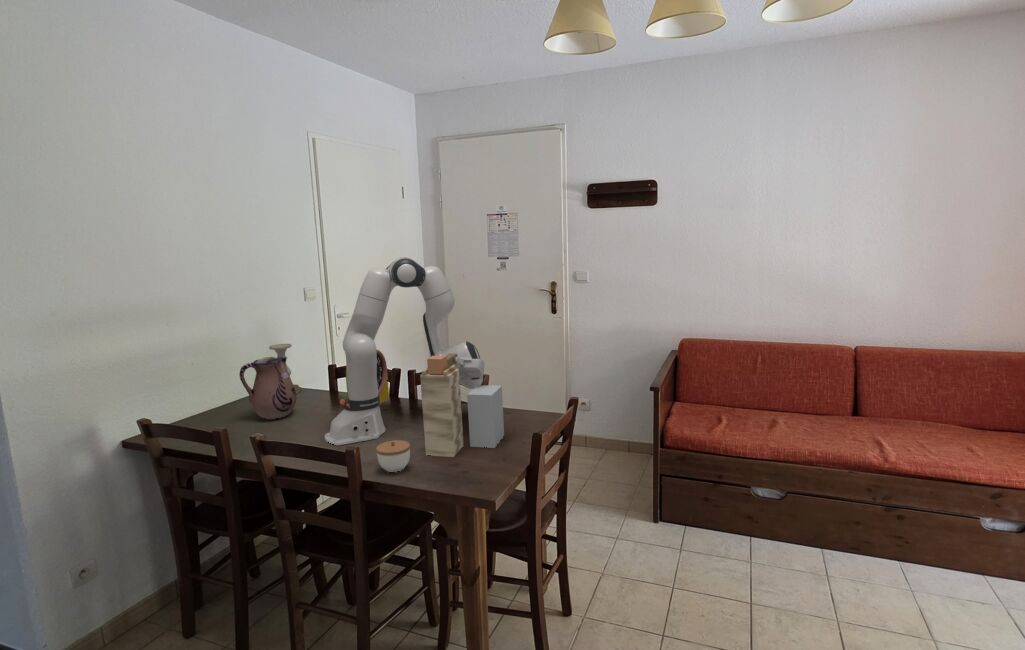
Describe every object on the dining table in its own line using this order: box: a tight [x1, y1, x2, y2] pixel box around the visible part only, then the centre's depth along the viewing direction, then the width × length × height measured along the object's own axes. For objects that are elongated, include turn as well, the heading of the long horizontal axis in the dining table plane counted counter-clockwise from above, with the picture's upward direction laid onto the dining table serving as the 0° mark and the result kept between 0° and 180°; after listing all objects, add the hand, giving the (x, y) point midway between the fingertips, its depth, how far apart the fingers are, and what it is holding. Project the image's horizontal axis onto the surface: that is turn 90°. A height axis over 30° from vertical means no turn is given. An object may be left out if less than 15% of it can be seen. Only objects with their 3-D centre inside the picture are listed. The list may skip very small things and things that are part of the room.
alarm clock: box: [345, 348, 390, 404], centre depth 262 cm, size 21×9×26 cm, turn 164°
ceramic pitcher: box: [238, 356, 297, 420], centre depth 250 cm, size 18×21×25 cm
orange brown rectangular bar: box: [426, 353, 457, 374], centre depth 205 cm, size 18×5×5 cm, turn 165°
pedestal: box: [466, 384, 505, 449], centre depth 211 cm, size 12×9×19 cm
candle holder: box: [268, 343, 302, 392], centre depth 287 cm, size 11×11×24 cm
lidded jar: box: [375, 439, 411, 473], centre depth 191 cm, size 11×11×9 cm
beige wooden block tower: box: [419, 365, 464, 458], centre depth 203 cm, size 10×10×30 cm
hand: (449, 359), depth 209 cm, fingers closed on orange brown rectangular bar, 3 cm apart
